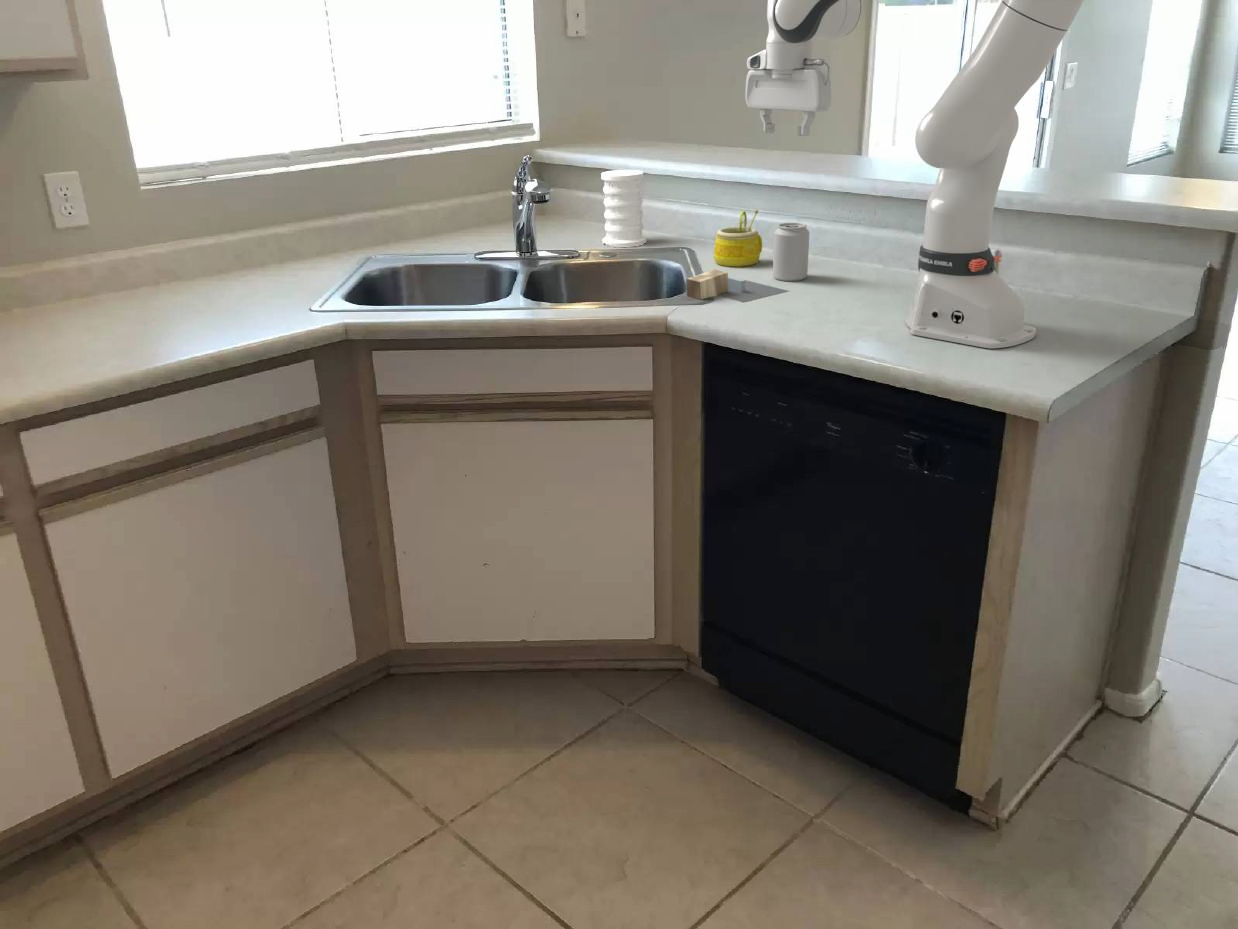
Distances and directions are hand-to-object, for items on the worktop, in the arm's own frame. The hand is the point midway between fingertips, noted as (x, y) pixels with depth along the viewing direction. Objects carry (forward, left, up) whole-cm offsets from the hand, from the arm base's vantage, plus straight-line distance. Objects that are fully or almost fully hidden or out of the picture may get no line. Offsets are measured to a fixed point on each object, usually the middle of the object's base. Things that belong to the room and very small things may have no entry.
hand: (785, 134), depth 187 cm
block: (+6, +11, -28) cm, 31 cm away
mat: (+3, +8, -31) cm, 32 cm away
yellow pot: (+23, -10, -31) cm, 40 cm away
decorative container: (+62, -5, -31) cm, 70 cm away
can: (+4, -7, -31) cm, 32 cm away
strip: (+6, +9, -31) cm, 33 cm away
